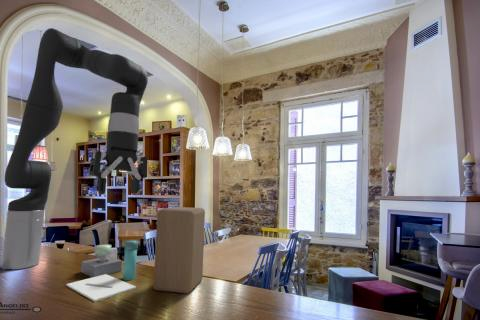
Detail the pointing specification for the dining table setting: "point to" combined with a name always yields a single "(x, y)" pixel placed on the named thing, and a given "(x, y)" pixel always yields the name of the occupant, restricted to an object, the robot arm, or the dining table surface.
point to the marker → (130, 259)
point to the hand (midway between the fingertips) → (118, 193)
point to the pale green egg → (102, 252)
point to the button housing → (101, 266)
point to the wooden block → (179, 249)
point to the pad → (100, 287)
